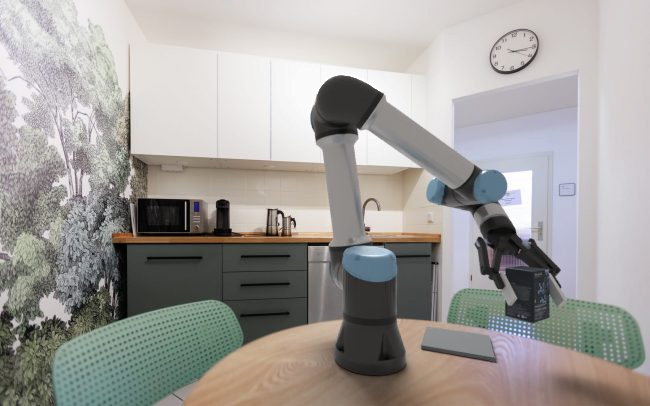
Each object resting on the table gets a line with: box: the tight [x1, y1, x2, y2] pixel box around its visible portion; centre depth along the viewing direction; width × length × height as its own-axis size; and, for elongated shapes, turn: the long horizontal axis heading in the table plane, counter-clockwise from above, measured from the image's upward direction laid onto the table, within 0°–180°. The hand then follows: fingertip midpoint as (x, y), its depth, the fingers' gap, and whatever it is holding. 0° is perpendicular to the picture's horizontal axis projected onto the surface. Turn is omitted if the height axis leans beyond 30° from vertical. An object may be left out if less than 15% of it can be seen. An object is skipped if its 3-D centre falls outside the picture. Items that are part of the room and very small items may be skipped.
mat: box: [420, 326, 496, 362], centre depth 73 cm, size 15×14×1 cm
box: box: [504, 265, 551, 324], centre depth 64 cm, size 8×6×11 cm
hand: (537, 302), depth 61 cm, fingers closed on box, 9 cm apart
